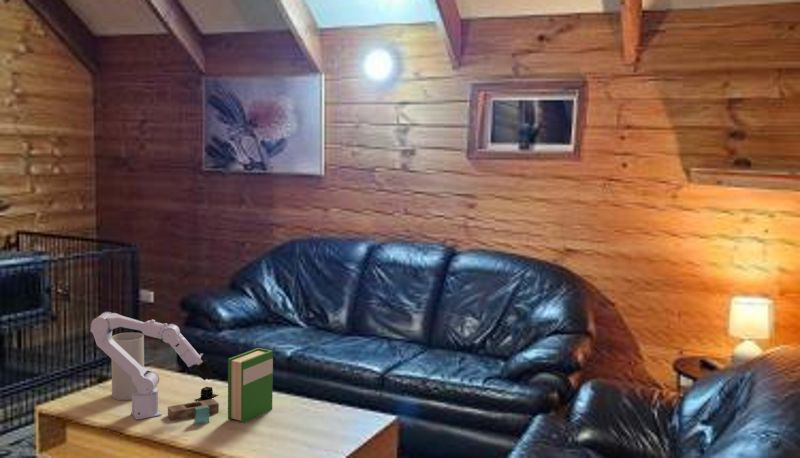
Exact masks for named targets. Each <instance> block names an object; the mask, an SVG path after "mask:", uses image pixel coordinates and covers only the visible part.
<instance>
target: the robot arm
mask: <svg viewBox="0 0 800 458" xmlns="http://www.w3.org/2000/svg"><path fill="white" fill-rule="evenodd" d="M117 328H124V329H130V330H136V331H141V332H142V334H143V335H144V336H148V337H151V338H155V339H160V340H162V341H163V342H164V343H166V344H169V345H170V347H171V348H172V349H173V351H175V353H177V355H178V356H179V357H180V358H181V360H182V361H183V362H184V363H185V364H186V366H187V367H188V368H189V370H188V371H190V372H191V373H194V374H196V375H197V376H198V377H199V378H201V379H202V380H204V381H206V380H208V381H210V380H211V379H212V378H213V377H214V374H213V372H212V371H211V369H210V367H209V363H208V360H207V359H204V360H202V359H201V358H202V356H203V355H204V353H200V354H199V353H198V352H197V350H196V349H195V348H194V347H193V346H192V344H191V343H190V342H189V341H188V340H187V338H186V337H184V335H183V334H182V333H181V330H180V327H179V326H178V325H177V324H174V323H170V324H168V323H167V322H166V323H161V322H158V321H156V320H155V319H151V320H147V321H141V320H139V319H135V318H131V317H128V316H124V315H121V314H119V313H116V312H111V311H104V312H102V313H100V315H98V316H97V317H95V318H93V319H92V320H91V323H90V333H92V335H93V338H94V340H95V343H96V346H97V348H99V349H100V350H102V352H104V353H105V354H106V355H107V357H109V358H110V359H112V360H114V361H115V362H116V363H117V364H118V365H119V366H120V367H121V368H122V369H123V370H124V371H125V372H127V373H128V374H129V375H130V376H131V378H132V382H133V384H134V385H135V386H136V387H137V390H138V393H135V394H133V395H132V400H131V412H130V413H131V415H132V416H133V417H134V418H135V420H142V419H147V418H153V417H159V416H162V413H161V412H160V410H159V389H158V384H160V383H159V382H160V377H159V374H158V373H157V372H155V371H152V370H150V369H149V368H148V367H146V366H144V367H142V366H141V365H140V364H139V363H138V362H137V361H136V360H134V359H133V358H132V357H131V356H130V355H129V354H128V353H127V352H126V351H125V350H124V349H123V348H121V347H120V346H119V345H118V344H117V343H116V342H115V341H114V340H113V339H112V336H113V330H114V329H117ZM190 367H191V368H190Z"/></svg>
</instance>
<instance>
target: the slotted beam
mask: <svg viewBox="0 0 800 458" xmlns="http://www.w3.org/2000/svg"><path fill="white" fill-rule="evenodd" d="M206 405H207V406H208V407H209V415H211V414H215V413H219V407H220V405H219V402H218V401H217V400H216V399H215V398H213V399H209V400H204V401H193V402H188V403H187V402H186V403H182V404H176V405H169V406H167V416H168V418H169V419H170V420H171V421H177V420H178V421H179V420H185V419H189V418H194V408H195V407H200V406H206Z"/></svg>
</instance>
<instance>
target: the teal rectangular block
mask: <svg viewBox="0 0 800 458" xmlns="http://www.w3.org/2000/svg"><path fill="white" fill-rule="evenodd" d="M193 421H194V422H193V423H194V425H195V426H198V425H205V424H209V423H210V414H209V407H208V406H207V405H206V406H200V407H195V408H194V417H193Z"/></svg>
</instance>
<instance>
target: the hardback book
mask: <svg viewBox="0 0 800 458" xmlns="http://www.w3.org/2000/svg"><path fill="white" fill-rule="evenodd" d="M273 355H274V351H273V350H271V349H266V348H260V347H257V348H254V349H251V350H248V351H246V352H243V353H240V354H237V355H235V356H232V357H229V358H228V359H227V420H228V421H231V420H237V421H240V424H246V423H248V422H249V421H252V420H253V419H256V418H259V417H260V416H262V415H263V414H265V413H268V412H270V411H272V410H273V387H274V386H273V383H274V380H273V378H274V377H273V375H274V374H273V373H274V366H273V365H274V361H273V360H274V356H273Z"/></svg>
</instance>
